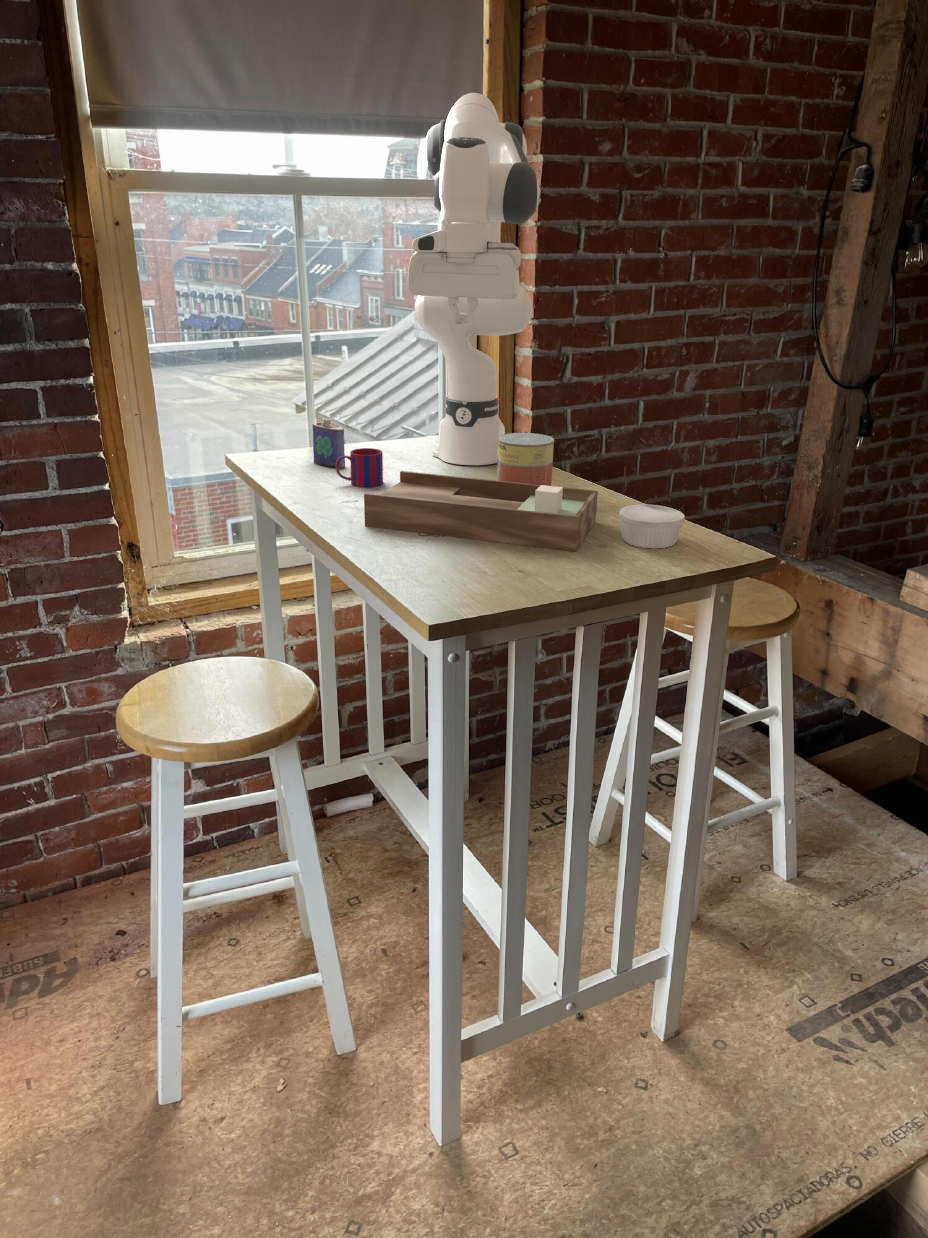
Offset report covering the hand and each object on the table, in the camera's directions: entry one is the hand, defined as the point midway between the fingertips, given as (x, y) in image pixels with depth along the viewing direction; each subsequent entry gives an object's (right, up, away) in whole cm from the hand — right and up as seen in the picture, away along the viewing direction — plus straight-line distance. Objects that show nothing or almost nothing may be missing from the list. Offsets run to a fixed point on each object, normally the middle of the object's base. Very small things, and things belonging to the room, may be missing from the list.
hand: (462, 324), depth 164 cm
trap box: (+4, -36, +3) cm, 36 cm away
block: (+15, -34, -2) cm, 37 cm away
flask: (-30, -19, +42) cm, 55 cm away
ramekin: (+33, -40, -4) cm, 52 cm away
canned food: (+12, -29, +21) cm, 37 cm away
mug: (-22, -25, +28) cm, 43 cm away
